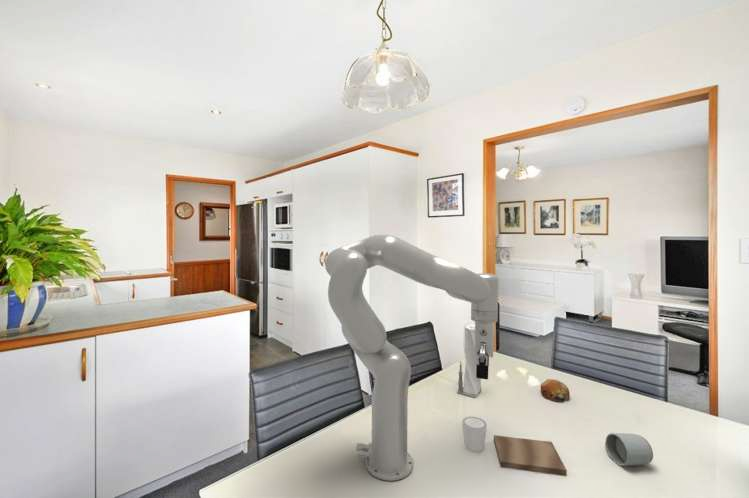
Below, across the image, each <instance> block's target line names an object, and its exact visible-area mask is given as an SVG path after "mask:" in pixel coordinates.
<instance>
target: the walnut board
mask: <svg viewBox="0 0 749 498" xmlns="http://www.w3.org/2000/svg"><path fill="white" fill-rule="evenodd" d="M493 443H494V447H495V451H496V455H497V459H498V463H499V466H500V468H504V469H505V468H506V469H513V470H521V471H529V472H535V473H542V474H550V475H557V476H558V475H559V476H566V477H567V471H568V470H567V468H566V467H565V465H564V462H563V461H562V459H561V457H560V455H559V453H558V451H557V449H556V448H555V446H554V445H555V444H553V442H552V441H550V440H549V441H547V440H539V439H530V438H522V437H512V436H504V435H496V434H495V435H493Z"/></svg>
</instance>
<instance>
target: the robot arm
mask: <svg viewBox="0 0 749 498" xmlns="http://www.w3.org/2000/svg"><path fill="white" fill-rule="evenodd" d="M324 265H325V266H324V267H325V271H326V272H327V274H328V275H329V276H330V278H329V283H328V288H327V296H328V297H327V298H328V303H329V306H330V308H331V309H332V311H333V313H334V315H335V316H336V318H337V320H338V321H339V322H340V324H341V333H342V334H343V337H344V338H345V340H346V342H347V343H348V345H349V346H350V348H351V349H352V351H354V353H355V355H356V356H357V357H358V358H359V360H360V362H361V363H362V364H363V366H364V367H365V369H367V370H368V371H369V372H370V374H371V375H372V376H373V377H374V385H373V389H372V393H371V443H363V442H362V443H361V442H357V444H356V449H355V450H356V451H357V452H358V457H363V458H365V457H366V458H365V467H366V470H367V471H368V472H369V474H371V475H372V476H374V477H375V478H377V479H379V480H383V481H386V482H387V481H388V482H390V481H391V482H394V481H398V480H402V479H404V478H406V477H408V476H409V475H410V474H411V472H412V471H413V468H414V459H413V457H412V455H411V454H410V453H409V452H408V414H409V413H408V410H409V409H408V405H409V403H408V398H409V397H408V396H409V385H410V380H411V375H412V368H411V367H412V366H411V363H410V361H409V358H408V357H407V355H406V354H405V353H404V352H403V351H402V350H401V349H400V348H398V347H396V346H395V345H394V344H392V343H390V342H389V341H388V340H387V335H388V334H387V330H386V329H385V326H384V324H383V322H382V321H381V320H380V319H379V317H378V315H377V314H376V313H375V311H374V310H373V308H372V307H371V305H370V304H369V302H368V301H367V298H366V297H365V295H364V292H363V291H364V290H363V284H364V280H365V278H366V275H367V273H368V270H369V269H371V268H373V267H375V266H380V267H384V268H385V269H388V270H389V271H392V272H394V273H397V274H399V275H401V276H403V277H406V278H408V279H409V280H412V281H414V282H416V283H419V284H421V285H425V286H427V287H429V288H430V287H432V288H435V289H439V290H443V291H445V293H446V294H447V295H449V296H450V297H451V298H454V299H457V300H461V301H465V302H469V303H471V304H470V305H471V306H470V320H473V321H472V322H474V325H475V353H476V355H477V356H478V360H477V367H476V377H477V378H480V379H481V380H488V379H489V366H490V358H493V357H494V341H495V339H494V338H495V325H494V324H495V323H497V322H498V318H499V317H498V314H499V313H498V312H499V311H498V310H499V309H498V308H499V307H498V306H499V278H498V276H497V275H496V274H493V273H488V272H487V273H483V272H482V273H476V272H474V271H472V270H470V269H468V268H465V267H463V266H461V265H459V264H457V263H453V262H451V261H449V260H446V259H444V258H441V257H439V256H437V255H434V254H432V253H430V252H428V251H426V250H424V249H421V248H419V247H418V246H415V245H414V244H412V243H409V242H407V241H405V240H404V239H401V238H399V237H397V236H394V235H391V234H376V235H372V236H371V235H370V236H369V237H366V238H363V239H361V240H358V241H355V242H352V243H349V244H347V245H346V244H345V245H343V246H340V247H338V248H335V249H334V250H331V252H329V253H328V255H327V256H326V258H325V262H324Z"/></svg>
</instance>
